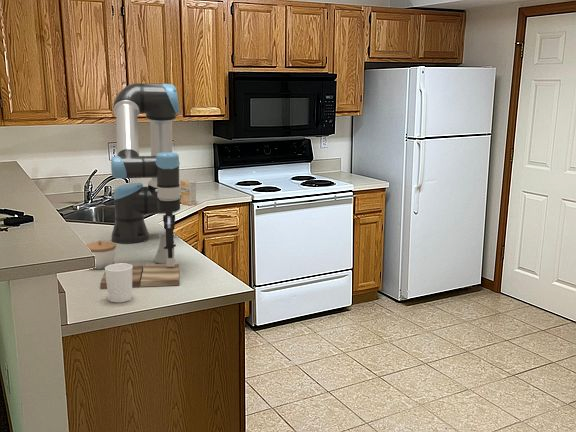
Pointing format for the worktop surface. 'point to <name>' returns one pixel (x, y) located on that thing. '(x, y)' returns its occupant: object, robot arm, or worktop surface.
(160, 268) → the oak plank
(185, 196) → the supplement box
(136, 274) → the walnut plank
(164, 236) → the flask
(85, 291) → the worktop surface
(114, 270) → the white cup
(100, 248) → the lidded jar
